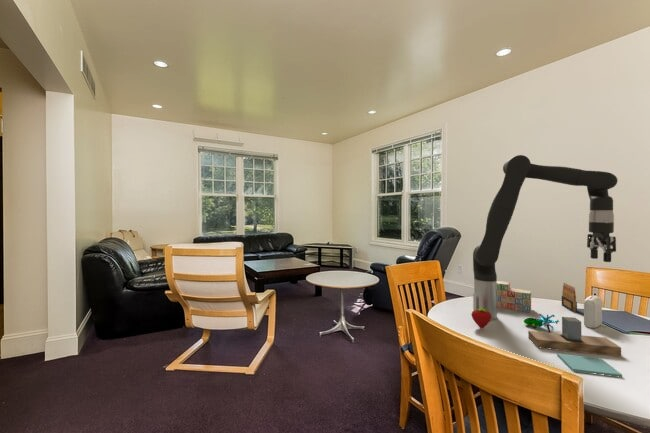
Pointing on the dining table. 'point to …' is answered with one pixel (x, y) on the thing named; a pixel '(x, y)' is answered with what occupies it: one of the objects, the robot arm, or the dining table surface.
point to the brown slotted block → (575, 343)
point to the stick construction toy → (540, 322)
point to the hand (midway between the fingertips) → (600, 260)
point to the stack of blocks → (513, 297)
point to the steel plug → (571, 329)
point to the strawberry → (481, 317)
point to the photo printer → (592, 311)
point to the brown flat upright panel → (569, 298)
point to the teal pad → (588, 365)
